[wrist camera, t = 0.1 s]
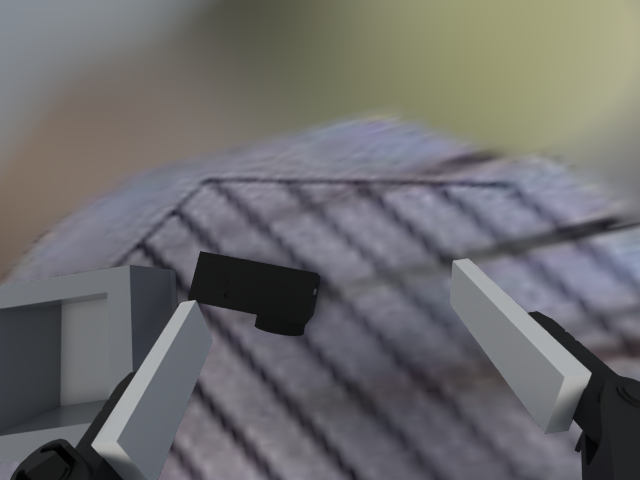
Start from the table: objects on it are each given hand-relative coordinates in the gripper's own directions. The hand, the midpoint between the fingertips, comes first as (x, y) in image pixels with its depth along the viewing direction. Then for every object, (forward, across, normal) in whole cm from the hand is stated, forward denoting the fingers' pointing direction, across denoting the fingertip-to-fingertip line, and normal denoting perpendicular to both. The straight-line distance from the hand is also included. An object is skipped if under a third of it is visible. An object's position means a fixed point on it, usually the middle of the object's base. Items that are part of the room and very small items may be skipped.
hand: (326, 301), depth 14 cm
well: (+11, +24, +10) cm, 28 cm away
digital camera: (+13, +6, +8) cm, 17 cm away
